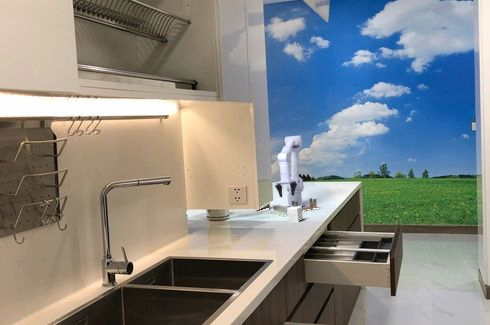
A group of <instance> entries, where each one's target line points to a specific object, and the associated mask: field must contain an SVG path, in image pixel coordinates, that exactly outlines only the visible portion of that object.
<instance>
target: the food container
mask: <svg viewBox="0 0 490 325" xmlns="http://www.w3.org/2000/svg"><path fill="white" fill-rule="evenodd" d="M266 208H270V209H271V202H270V203H269V204H267V205H266V206H264V207H263V208H261V209H259V210H256V209H255V211H260V210H263V209H266Z"/></svg>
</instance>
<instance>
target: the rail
mask: <svg viewBox="0 0 490 325" xmlns="http://www.w3.org/2000/svg"><path fill="white" fill-rule="evenodd" d="M272 207H273V208H272V209H273V210H274V211H278V212H281V213H285V214H287V208H290V207H288V206H284V205H280V204H276V205H274V204H273V206H272Z"/></svg>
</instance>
